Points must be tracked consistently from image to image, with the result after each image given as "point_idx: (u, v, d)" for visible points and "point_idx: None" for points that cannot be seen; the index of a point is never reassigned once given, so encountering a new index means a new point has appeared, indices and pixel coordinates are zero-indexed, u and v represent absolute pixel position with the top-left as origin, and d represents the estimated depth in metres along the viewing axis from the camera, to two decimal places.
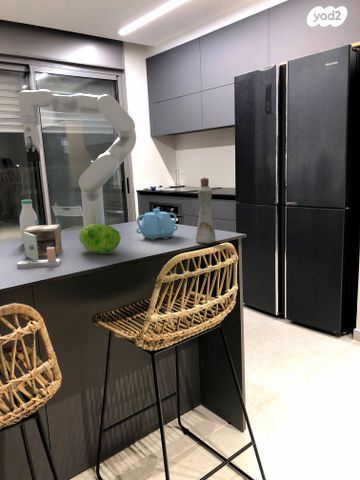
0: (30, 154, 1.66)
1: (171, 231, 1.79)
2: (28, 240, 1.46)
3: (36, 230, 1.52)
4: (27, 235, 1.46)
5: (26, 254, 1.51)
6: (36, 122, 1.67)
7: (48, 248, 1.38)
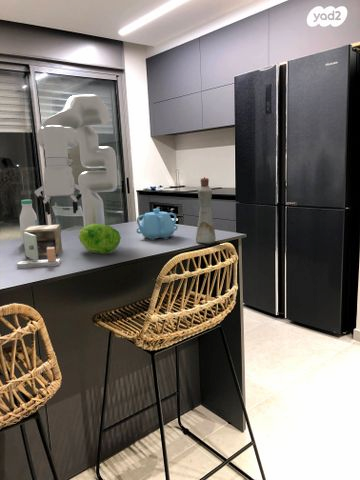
0: (77, 204, 1.37)
1: (171, 231, 1.79)
2: (28, 240, 1.46)
3: (36, 230, 1.52)
4: (27, 235, 1.46)
5: (26, 254, 1.51)
6: None
7: (48, 248, 1.38)
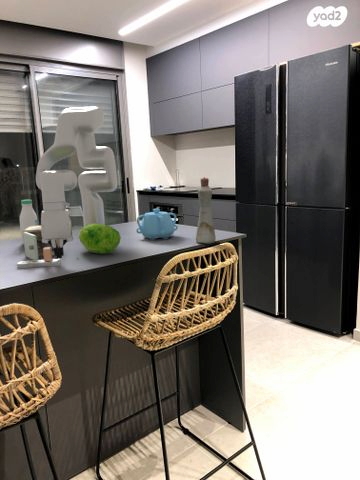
0: (62, 249, 1.39)
1: (171, 231, 1.79)
2: (28, 240, 1.46)
3: (36, 230, 1.52)
4: (27, 235, 1.46)
5: (26, 254, 1.51)
6: None
7: (44, 248, 1.37)
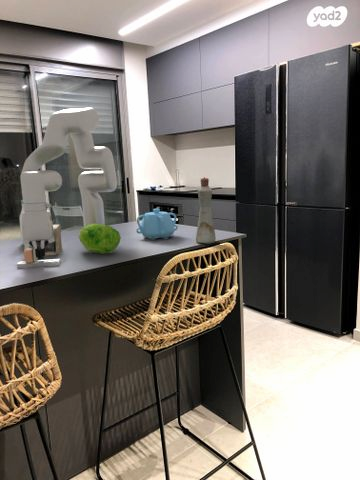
0: (44, 250, 1.38)
1: (171, 231, 1.79)
2: None
3: None
4: None
5: None
6: None
7: (26, 249, 1.36)
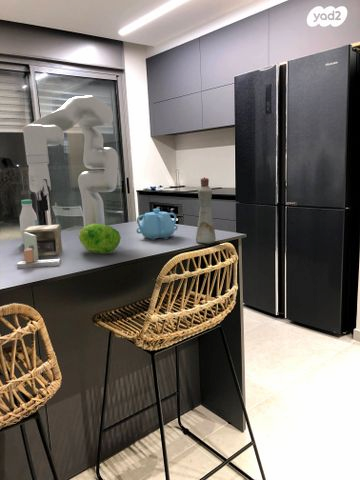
0: None
1: (171, 231, 1.79)
2: (28, 240, 1.46)
3: (36, 230, 1.52)
4: (27, 235, 1.46)
5: None
6: None
7: (25, 249, 1.36)
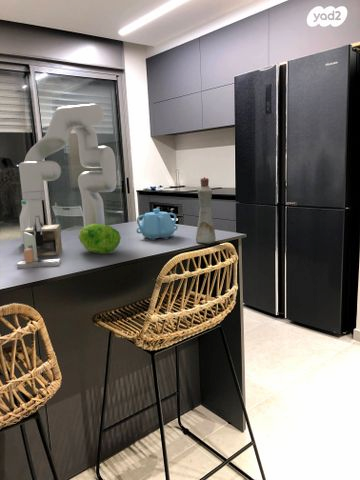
0: None
1: (171, 231, 1.79)
2: (28, 240, 1.46)
3: None
4: (27, 235, 1.46)
5: None
6: None
7: (25, 249, 1.36)
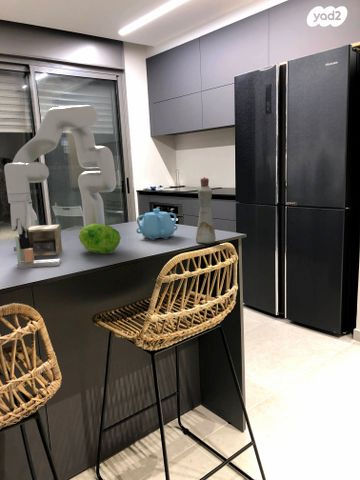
0: None
1: (171, 231, 1.79)
2: None
3: (36, 230, 1.52)
4: None
5: None
6: None
7: (25, 249, 1.36)
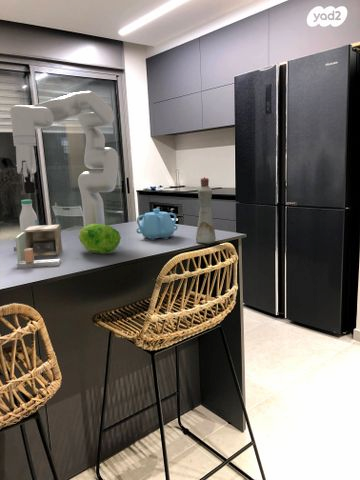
0: None
1: (171, 231, 1.79)
2: None
3: (36, 230, 1.52)
4: None
5: None
6: None
7: (25, 249, 1.36)
